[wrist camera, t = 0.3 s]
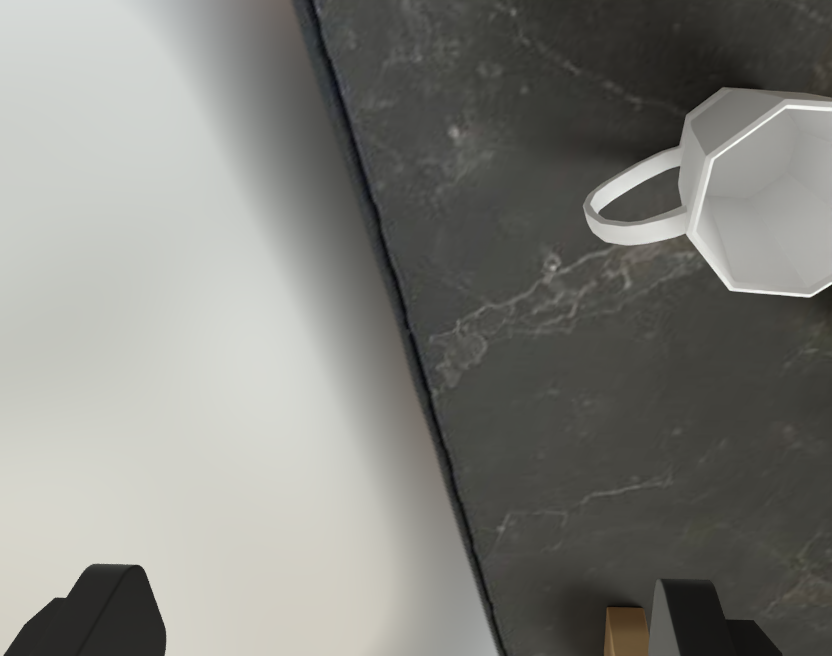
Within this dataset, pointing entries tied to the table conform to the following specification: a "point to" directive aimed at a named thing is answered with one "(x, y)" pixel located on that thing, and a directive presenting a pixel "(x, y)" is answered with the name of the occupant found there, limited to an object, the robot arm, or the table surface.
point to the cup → (743, 191)
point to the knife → (626, 632)
